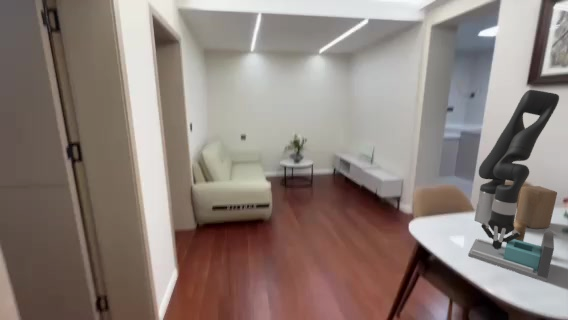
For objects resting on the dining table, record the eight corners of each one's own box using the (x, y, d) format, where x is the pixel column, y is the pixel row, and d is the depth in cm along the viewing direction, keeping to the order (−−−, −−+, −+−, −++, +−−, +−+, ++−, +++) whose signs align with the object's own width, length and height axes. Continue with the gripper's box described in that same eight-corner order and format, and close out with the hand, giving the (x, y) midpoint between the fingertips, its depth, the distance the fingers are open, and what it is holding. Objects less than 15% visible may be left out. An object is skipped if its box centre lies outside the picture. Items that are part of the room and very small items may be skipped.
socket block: (503, 260, 105) (505, 246, 104) (505, 250, 112) (508, 237, 110) (537, 270, 98) (540, 256, 97) (537, 259, 105) (540, 246, 103)
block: (530, 229, 133) (538, 192, 128) (513, 220, 143) (520, 185, 138) (550, 228, 133) (558, 191, 128) (532, 220, 143) (539, 185, 138)
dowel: (509, 248, 116) (514, 222, 113) (510, 245, 118) (515, 219, 116) (521, 252, 113) (526, 224, 110) (521, 248, 116) (527, 221, 113)
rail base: (468, 256, 111) (472, 227, 108) (475, 241, 122) (479, 215, 119) (546, 282, 94) (554, 248, 91) (546, 262, 105) (553, 232, 102)
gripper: (481, 208, 108) (475, 246, 112) (524, 218, 99) (516, 258, 103) (485, 203, 113) (478, 239, 117) (525, 212, 104) (517, 251, 108)
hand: (496, 248), depth 110 cm, fingers closed
